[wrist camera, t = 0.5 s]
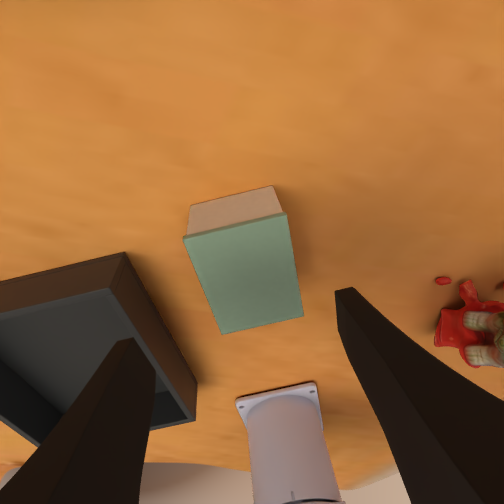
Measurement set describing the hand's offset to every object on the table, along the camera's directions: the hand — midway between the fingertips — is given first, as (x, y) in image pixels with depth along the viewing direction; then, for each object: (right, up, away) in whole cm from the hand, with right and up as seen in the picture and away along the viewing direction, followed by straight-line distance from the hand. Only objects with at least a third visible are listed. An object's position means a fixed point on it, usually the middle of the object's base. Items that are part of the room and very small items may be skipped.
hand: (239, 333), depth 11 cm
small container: (0, +4, +9) cm, 10 cm away
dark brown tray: (-12, -4, +13) cm, 19 cm away
